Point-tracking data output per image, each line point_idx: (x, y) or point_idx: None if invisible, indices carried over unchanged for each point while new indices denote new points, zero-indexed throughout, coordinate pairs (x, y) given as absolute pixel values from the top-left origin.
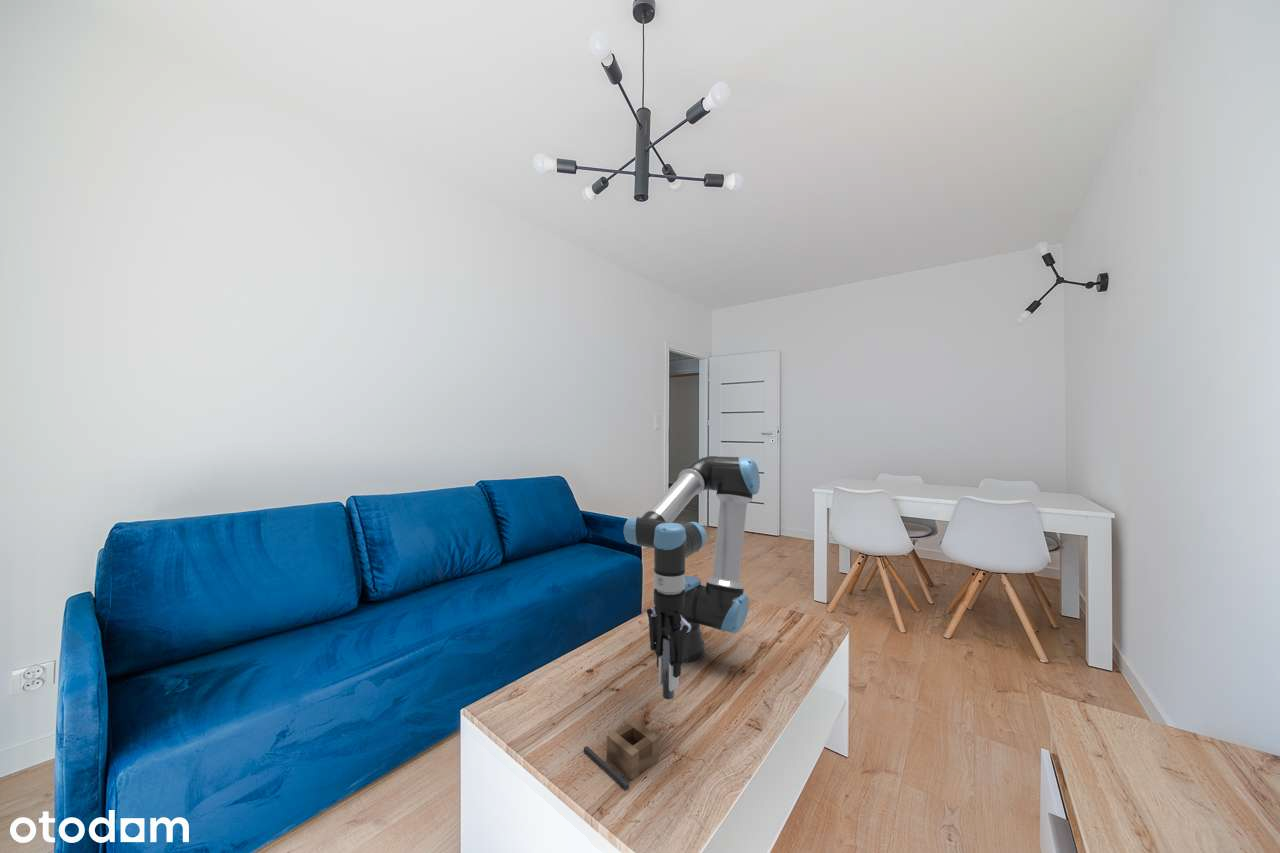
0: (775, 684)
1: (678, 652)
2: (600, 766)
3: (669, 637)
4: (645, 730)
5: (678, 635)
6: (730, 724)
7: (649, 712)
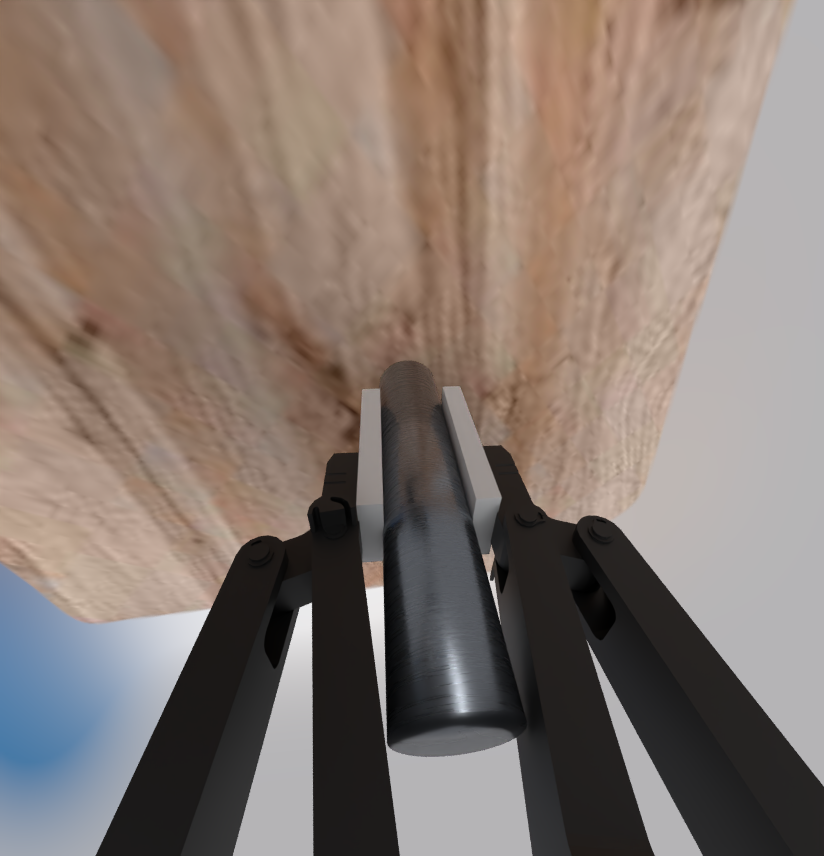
0: None
1: (603, 665)
2: None
3: (450, 729)
4: None
5: (624, 810)
6: (591, 97)
7: (297, 328)
